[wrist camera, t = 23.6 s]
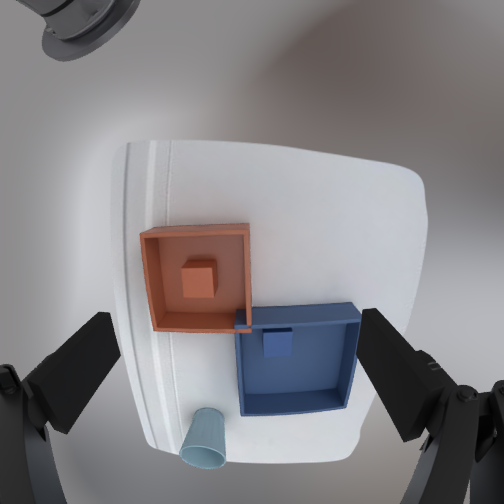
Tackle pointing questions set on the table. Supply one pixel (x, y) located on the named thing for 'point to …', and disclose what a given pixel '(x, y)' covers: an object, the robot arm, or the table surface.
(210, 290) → the terracotta block
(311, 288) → the table surface
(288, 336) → the blue block
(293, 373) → the blue bin
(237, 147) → the table surface
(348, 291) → the table surface
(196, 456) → the cup
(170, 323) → the terracotta bin
